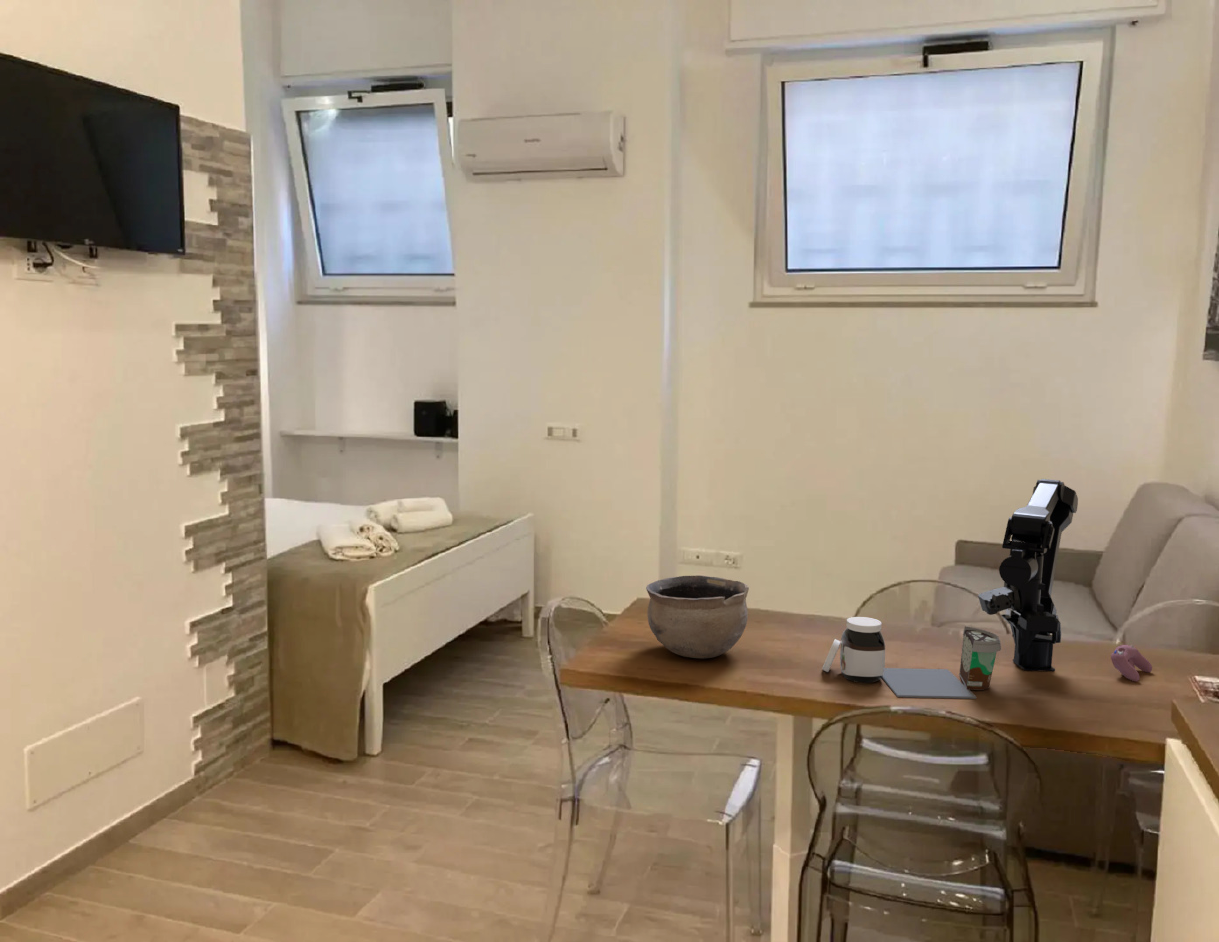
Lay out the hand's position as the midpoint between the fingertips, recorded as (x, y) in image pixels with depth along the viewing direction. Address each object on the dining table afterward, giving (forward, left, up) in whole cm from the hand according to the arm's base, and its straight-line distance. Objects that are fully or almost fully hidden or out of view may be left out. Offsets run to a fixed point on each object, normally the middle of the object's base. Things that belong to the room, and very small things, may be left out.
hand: (1020, 653), depth 193 cm
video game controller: (-27, -9, -7) cm, 29 cm away
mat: (+19, 0, -6) cm, 20 cm away
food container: (+8, 0, -7) cm, 10 cm away
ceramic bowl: (+63, -17, -7) cm, 65 cm away
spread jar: (+32, -4, -7) cm, 33 cm away
